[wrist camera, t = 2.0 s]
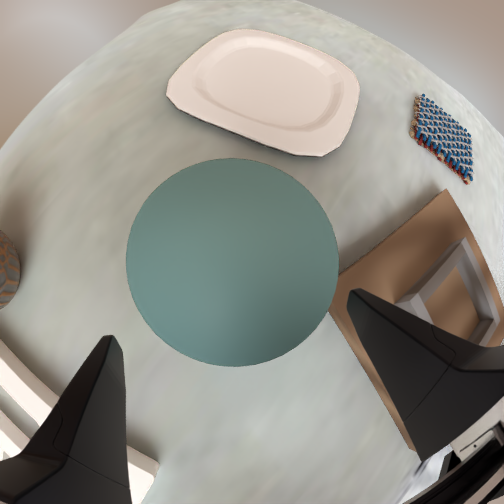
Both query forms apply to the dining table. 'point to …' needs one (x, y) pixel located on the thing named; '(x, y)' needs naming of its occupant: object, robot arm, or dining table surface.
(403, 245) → the board
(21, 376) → the holder
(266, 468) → the dining table surface
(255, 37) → the plate
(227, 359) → the pin
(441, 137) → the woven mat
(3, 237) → the vase
